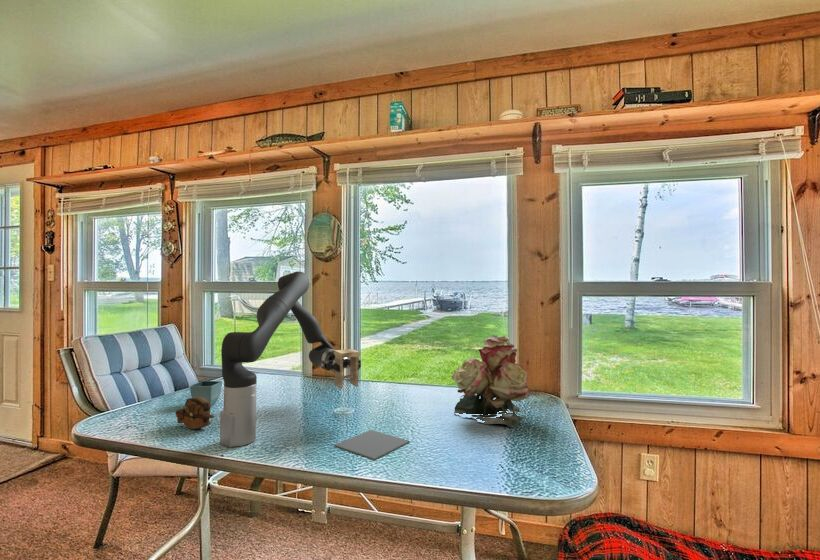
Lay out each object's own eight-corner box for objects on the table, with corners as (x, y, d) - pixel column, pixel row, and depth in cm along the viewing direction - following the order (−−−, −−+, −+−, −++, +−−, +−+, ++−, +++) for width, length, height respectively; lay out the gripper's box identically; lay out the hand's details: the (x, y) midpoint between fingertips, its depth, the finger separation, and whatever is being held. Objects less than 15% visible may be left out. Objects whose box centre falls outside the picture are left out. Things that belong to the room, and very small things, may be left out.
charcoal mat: (374, 460, 106) (374, 458, 106) (334, 446, 115) (334, 444, 115) (409, 442, 118) (409, 440, 118) (370, 430, 128) (370, 429, 128)
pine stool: (340, 388, 131) (340, 353, 131) (333, 384, 137) (334, 350, 137) (359, 386, 134) (359, 351, 134) (351, 382, 140) (352, 349, 141)
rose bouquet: (444, 417, 142) (444, 335, 143) (485, 401, 164) (485, 330, 165) (507, 435, 125) (507, 341, 126) (545, 414, 147) (544, 334, 148)
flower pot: (211, 409, 151) (211, 386, 152) (188, 408, 151) (189, 385, 152) (222, 402, 160) (222, 380, 160) (201, 402, 160) (201, 380, 161)
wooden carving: (169, 427, 131) (170, 397, 131) (182, 423, 135) (182, 394, 135) (206, 433, 125) (207, 402, 125) (218, 429, 129) (219, 398, 130)
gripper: (315, 351, 145) (328, 358, 130) (351, 349, 152) (368, 355, 137) (315, 371, 145) (328, 380, 130) (351, 368, 152) (368, 376, 137)
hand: (348, 367), depth 134 cm, fingers closed on pine stool, 6 cm apart
